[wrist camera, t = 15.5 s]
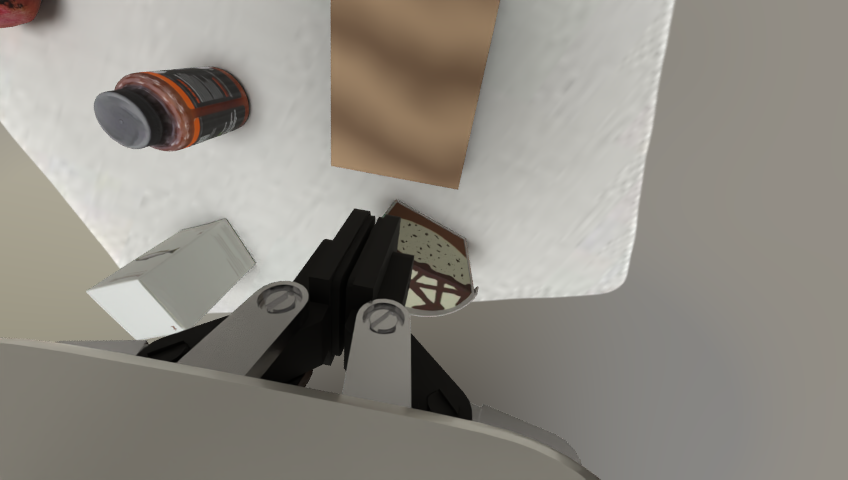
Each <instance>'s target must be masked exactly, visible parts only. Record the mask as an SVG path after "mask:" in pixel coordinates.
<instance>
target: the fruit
mask: <svg viewBox="0 0 848 480" xmlns="http://www.w3.org/2000/svg"><path fill="white" fill-rule="evenodd" d="M40 4H41V0H0V28H6V27H13V26H17V25H20V24H24V23H28V22H31V21H32V20H33V19H34V18H35V16H36V15H37V13H38V11H39V8H40Z"/></svg>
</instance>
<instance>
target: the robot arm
mask: <svg viewBox="0 0 848 480" xmlns="http://www.w3.org/2000/svg"><path fill="white" fill-rule="evenodd" d="M400 223H401V217H399V216H393V215H388V214H385V216H384V218H382V217H379V218H378V220H377V222H376V224H375V216H371V214H370V211H365V210H360V209H354V210H353V211H352V213H351V214H350V216H349V217H348V218H347V220H346V221H345V223H344V224H343V226H342V227H341V229H340V230H339V232H338V233H337V235H336V236H335V238H334V239H333V240H328V239H324V240H323V241H322V242H321V244H320V245H319V247H318V248H317V249H316V251H315V252H314V253H313V255H312V256H311V258H310V259H309V260H308V262H307V263H306V264H305V266H304V267H303V269H302V270H301V271H300V273H299V274H298V276H297V277H296V278H295V280H294V281H293V282H291V281H279V282H274V283H270V284H268V285H265V286H263V287H262V288H260V289H259V290H257V291H256V292H255V293H254V294H253V295H252V296H250V297H249V298H248V299H247V300H246V301H245V302H244V303H243V304H242V305H240V306H239V307H238V308H237V309H236V310H235V311H234V312H233V313H231V315H228V316H225V317H222V318H219V319H216V320H213V321H210V322H207V323H204V324H201V325H199V326H195V327H192V328H189V329H186V330H183V331H180V332H177V333H174V334H171V335H168V336H166V337H163V338H161V339H159V340H156V341H154V342H152V343H151V344H148V342H147V340H114V341H113V340H112V341H111V340H110V341H59V342H49V341H40V340H32V339H20V338H3V337H0V480H601V479H599V478H598V477H597V476H596V475H594V474H593V473H592V472H590V471H589V470H587V469H586V468H585V467H583V466H582V464H581V460H580V459H579V457H578V455H577V453H576V452H575V450H574V449H573V448H572V447H571V446H570V445H569V444H568V443H567V441H565V440H564V439H562V438H561V437H559V436H557V435H556V434H554V433H551V432H549V431H547V430H544V429H542V428H539V427H537V426H535V425H532V424H530V423H528V422H525V421H523V420H521V419H518V418H516V417H513V416H511V415H509V414H506V413H504V412H502V411H499V410H497V409H494V408H492V407H490V406H488V405H485V404H483V405H482V407H479V406H477V405H474V404H472V403H470V402H469V400H468V398H467V397H466V395H465V394H464V392H463V391H462V390H461V389H460V388H459V387H458V386H457V385H456V383H455V382H454V381H453V380H452V379H451V378H450V377H449V375H448V374H447V373H446V372H445V371H444V370H443V369H442V368H441V366H440V365H439V364H438V363H437V362H436V361H435V360H434V358H433V357H432V356H431V355H430V354H429V353H428V352H427V351H426V350H425V349H424V347H423V346H422V345H421V344H420V343H419V342H418V341H417V339H416V338H415V337H414V336H413V335H412V334H411V319H410V314H409V312H408V311H407V309H406V308H405V305H406V301H407V296H408V291H409V286H410V281H411V275H412V269H413V263H414V255H410V254H405V253H400V252H397V248H398V240H399V231H400ZM343 349H344V369H345V370H346V376H345V381H344V386H343V392H342V394H337V393H332V392H326V391H321V390H316V389H311V388H306V385H307V384H308V382H309V380H310V379H311V376H312V374H313V369H314V368H316V367H318V366H320V365H322V364H325V365H330V366H331V363H332V361H333V359H334V356H335V355H336V356H340V355H341V354H342V351H343Z"/></svg>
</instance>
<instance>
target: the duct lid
mask: <svg viewBox="0 0 848 480" xmlns="http://www.w3.org/2000/svg"><path fill="white" fill-rule="evenodd" d="M499 3H500V0H331V166H336V167H341V168H346V169H351V170H357V171H362V172H367V173H373V174H378V175H383V176H389V177H394V178H399V179H405V180H410V181H415V182H420V183H426V184H431V185H436V186H442V187H447V188H452V189H458V187H459V183H460V178H461V174H462V169H463V165H464V160H465V156H466V151H467V147H468V142H469V138H470V133H471V129H472V124H473V120H474V115H475V111H476V106H477V102H478V97H479V93H480V88H481V84H482V79H483V75H484V70H485V66H486V62H487V57H488V53H489V48H490V44H491V39H492V35H493V30H494V26H495V21H496V17H497V12H498V8H499Z"/></svg>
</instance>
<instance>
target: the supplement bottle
mask: <svg viewBox="0 0 848 480" xmlns="http://www.w3.org/2000/svg"><path fill="white" fill-rule="evenodd" d="M94 111H95V115H96V118H97V120H98V122H99V124H100V125H101V127H102V128H103V130H104V131H105V132H106V133H107V134H108V135H109V136H110V137H111V138H112V139H113V140H115V141H116V142H118V143H119V144H121V145H123V146H125V147H128V148H132V149H141V148H145V147H148V146H150V147H153V148H155V149H158V150H162V151H177V150H181V149H184V148H186V147H190V146H192V145H195V144H198V143H201V142H203V141H206V140H209V139H211V138H214V137H217V136H220V135H222V134H225V133H228V132H230V131H233V130H235V129H237V128H239V127H241V126H242V125H243V124H244V123H245V122H246V120H247V117H248V114H249V104H248V100H247V96H246V94H245V92H244V90H243V88H242V87H241V85H240V84H239V83H238V81H237V80H236V79H235V78H234V77H233V76H232V75H230V74H229V73H227V72H226V71H224V70H222V69H219V68H215V67H196V68H184V69H173V70H160V71H150V72H139V73H132V74H129V75H127V76H125V77H123V78H122V79H121V80H120V81H119V82H118V83H117V85H116V87H115V90H114V91H107V92H103V93H101V94H99V95H98V96H97V97H96V99H95V102H94Z"/></svg>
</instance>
